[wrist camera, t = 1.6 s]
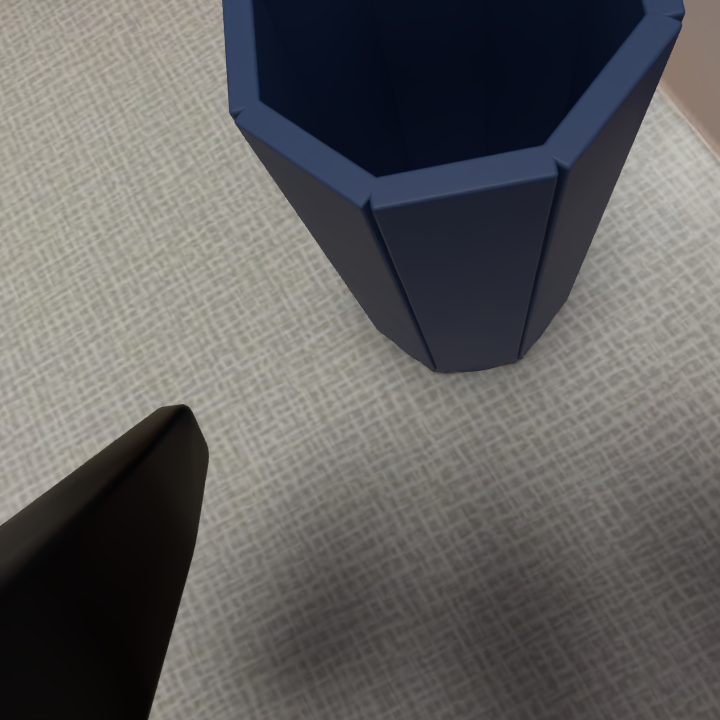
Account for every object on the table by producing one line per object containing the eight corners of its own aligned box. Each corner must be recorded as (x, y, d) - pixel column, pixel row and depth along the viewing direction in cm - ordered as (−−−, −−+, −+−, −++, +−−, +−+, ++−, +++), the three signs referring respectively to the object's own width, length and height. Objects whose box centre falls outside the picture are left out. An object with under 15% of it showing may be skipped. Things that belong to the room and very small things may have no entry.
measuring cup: (576, 357, 20) (722, 145, 8) (383, 384, 21) (235, 236, 9) (521, 56, 23) (563, -471, 10) (350, 94, 24) (200, -342, 11)
